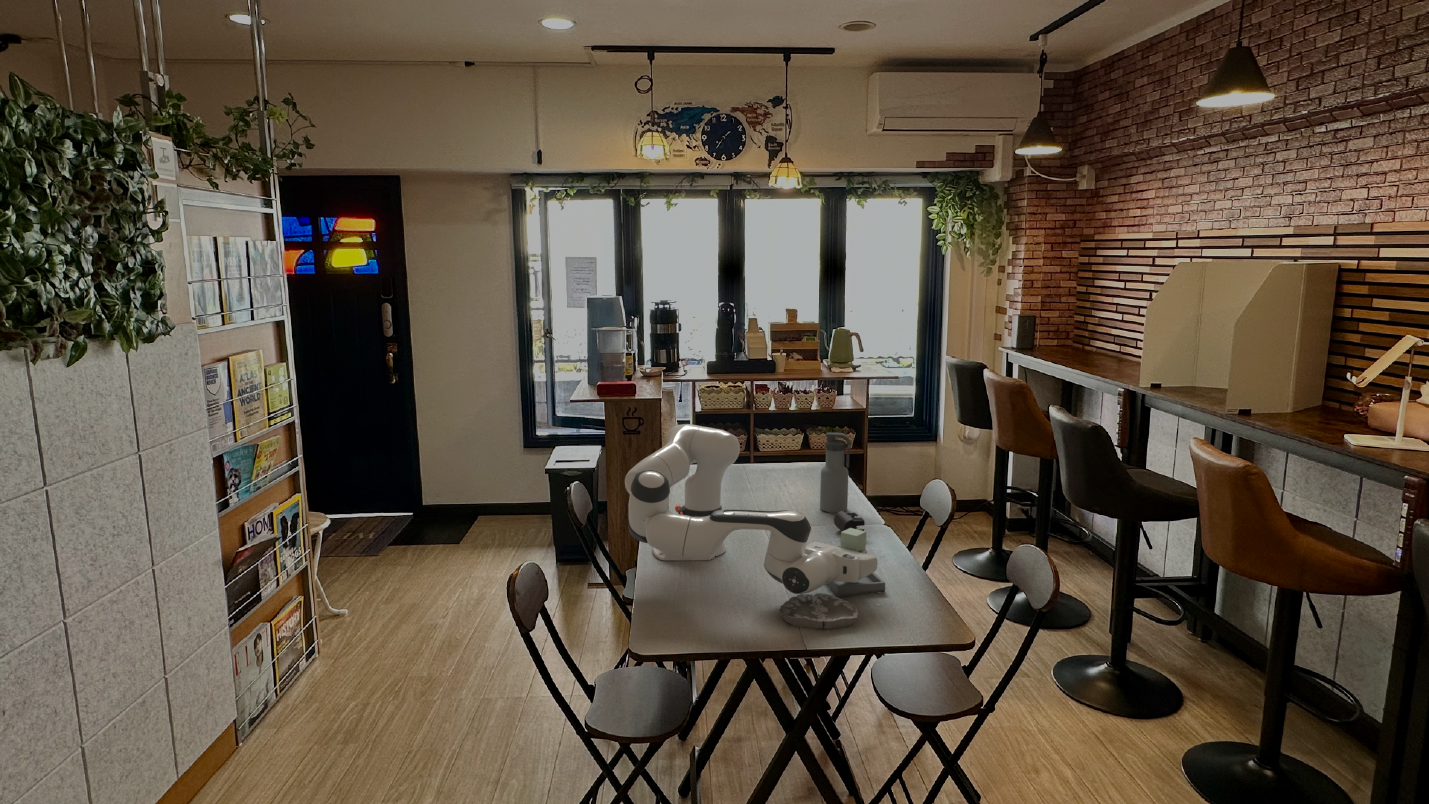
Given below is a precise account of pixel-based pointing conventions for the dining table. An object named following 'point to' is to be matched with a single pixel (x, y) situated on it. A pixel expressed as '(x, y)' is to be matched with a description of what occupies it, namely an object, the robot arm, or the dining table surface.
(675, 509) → the robot arm
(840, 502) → the water bottle
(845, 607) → the brain slice
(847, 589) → the grey tray
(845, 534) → the sage block
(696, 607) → the dining table surface
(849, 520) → the end cap
